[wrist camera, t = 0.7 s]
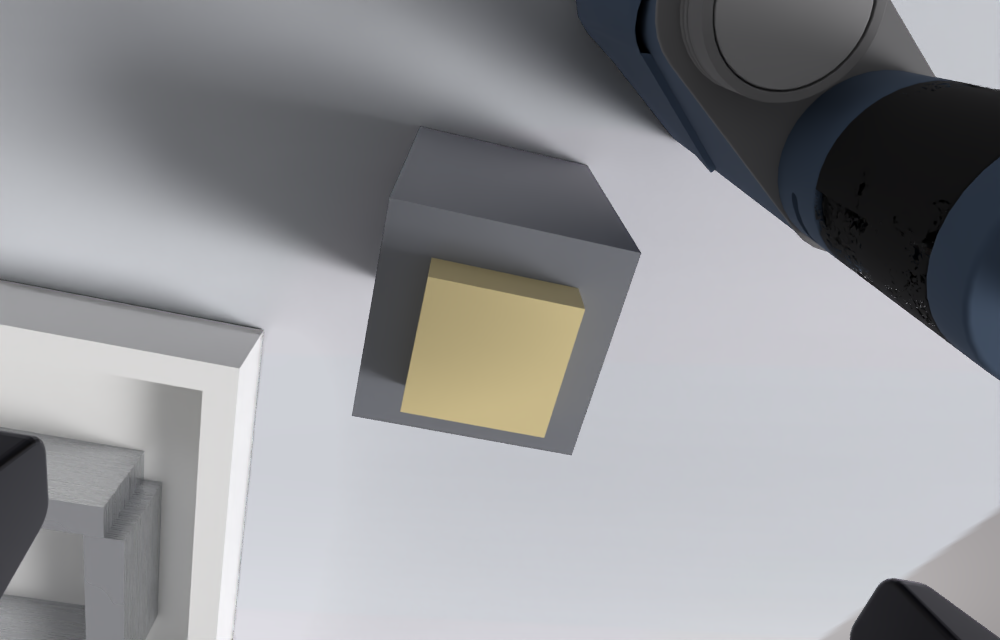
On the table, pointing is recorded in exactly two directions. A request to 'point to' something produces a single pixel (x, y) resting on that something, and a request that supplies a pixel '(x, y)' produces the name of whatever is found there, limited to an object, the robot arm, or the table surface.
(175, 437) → the walled tray
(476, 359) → the block
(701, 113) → the vaping device
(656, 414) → the table surface
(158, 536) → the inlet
